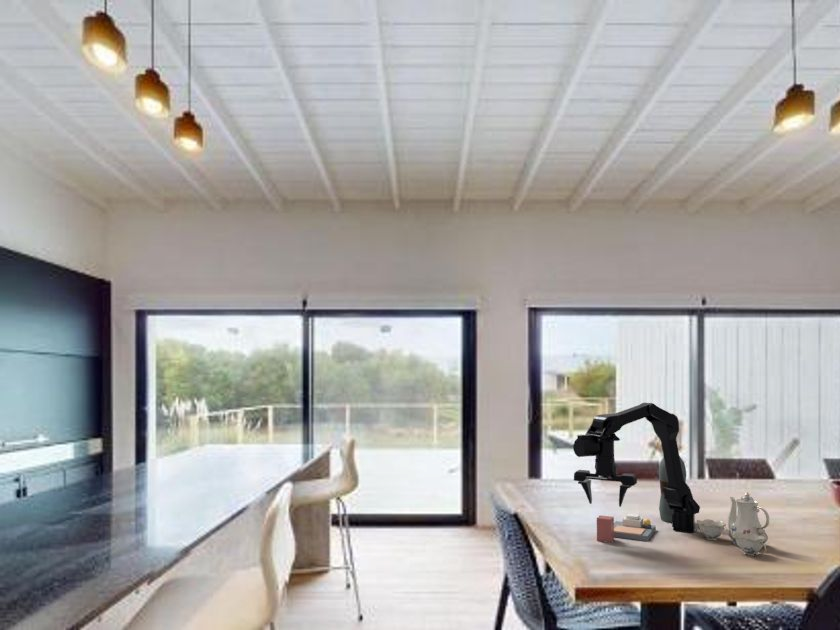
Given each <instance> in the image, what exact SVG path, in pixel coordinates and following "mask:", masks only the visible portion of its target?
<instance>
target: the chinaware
mask: <svg viewBox="0 0 840 630" xmlns="http://www.w3.org/2000/svg"><path fill="white" fill-rule="evenodd" d="M729 499H730V501H731V506H730V511H729V514H728V517H727V518H728V519H727V525H726V523H725V522H724V521H721V520H717V521H714V520H713V519H704V520H700V519H697V520H696V523H697V524H698V527H699V530H700V532H701V533H702V535H703V536H704V537H706V538H705V540H708V541H716V540H717V541H718V539H717V538H719V537H720V536H721V535H722V534H723V532H724V528H725V527H726V526H728V530H729V531H728V533H727V534H728V537H729V538H730V540H732V542H733V543H732V545H734V546H736V547H738V548H739V550H741V551H742V552H743V554H744V553H745V554H748V555H747V556H750V555H753V556H759V554H761V555H764V554H765V553H766V552H767V547H766V542H768V539H769V536H768V535H767V533H766V530H765V529H766V528H767V527H768V526H769V525H770V516H769V513H768V512H767V510H766V509H765V508H763V507H762V506H759V503H760V502H759V501H757V500H754V498H753V497H752V496H750V494H749V492H748V491H746V492H745V493H744V495H743V496H741V497H740V499H738V498H737V499H735V497H733V496H730V497H729ZM761 510H762V511H763V513H764V515H765V519H766V522H765V525H764V526H762V525H761V522H760V519H759V515H758V513H759V512H760V511H761ZM762 547H763V548H764V550H763V552H760V551H761V549H763V548H762ZM745 554H744V555H745ZM754 554H756V555H754Z"/></svg>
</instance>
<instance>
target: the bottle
mask: <svg viewBox="0 0 840 630" xmlns="http://www.w3.org/2000/svg"><path fill="white" fill-rule="evenodd" d="M679 457H680V462H681V468H682V473H683V478H684V481H685V482H686V481H687V470H686V465H685V462H684V460H683V459H682V457H681V455H679ZM658 466H659V467H658V478H659V489H660V498H659V505H658V507H659V508H658V509H659V516H660V517H659V518H660V520H661V521H662V522H665V523H671V524H672V515H673V514H674V510H672V509H670V508H669V505H668V503H667V501H666V499H664V497H665V495H664V491H663V488H664V487H666V486H667V484H668V477H667V471H666V466H665V461H664V456H663V457H662V459H661V461H660V462H659V465H658ZM686 483H687V482H686Z"/></svg>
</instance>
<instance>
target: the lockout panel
mask: <svg viewBox="0 0 840 630" xmlns="http://www.w3.org/2000/svg"><path fill="white" fill-rule="evenodd" d="M626 516H627V515H625V517H623V519H622V521H618V520H616V521H614V538H620V539H629V540H636V541H645V542H648V541H649V540H650V539H651V537H652V535H653V534H654V533H655V531H657V529H656V525H654V524H653V525H652V524H651V519H649V518H644V517H641V516H640V520H639V521H638V520H629V519H626Z"/></svg>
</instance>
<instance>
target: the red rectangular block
mask: <svg viewBox="0 0 840 630" xmlns="http://www.w3.org/2000/svg"><path fill="white" fill-rule="evenodd" d="M614 523H615V517H614V516H609V515H608V516H607V515H600V514H599V515H598V517H596V542H603V541H606V542H605V543H613V541H614V540H615V537H614Z"/></svg>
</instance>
